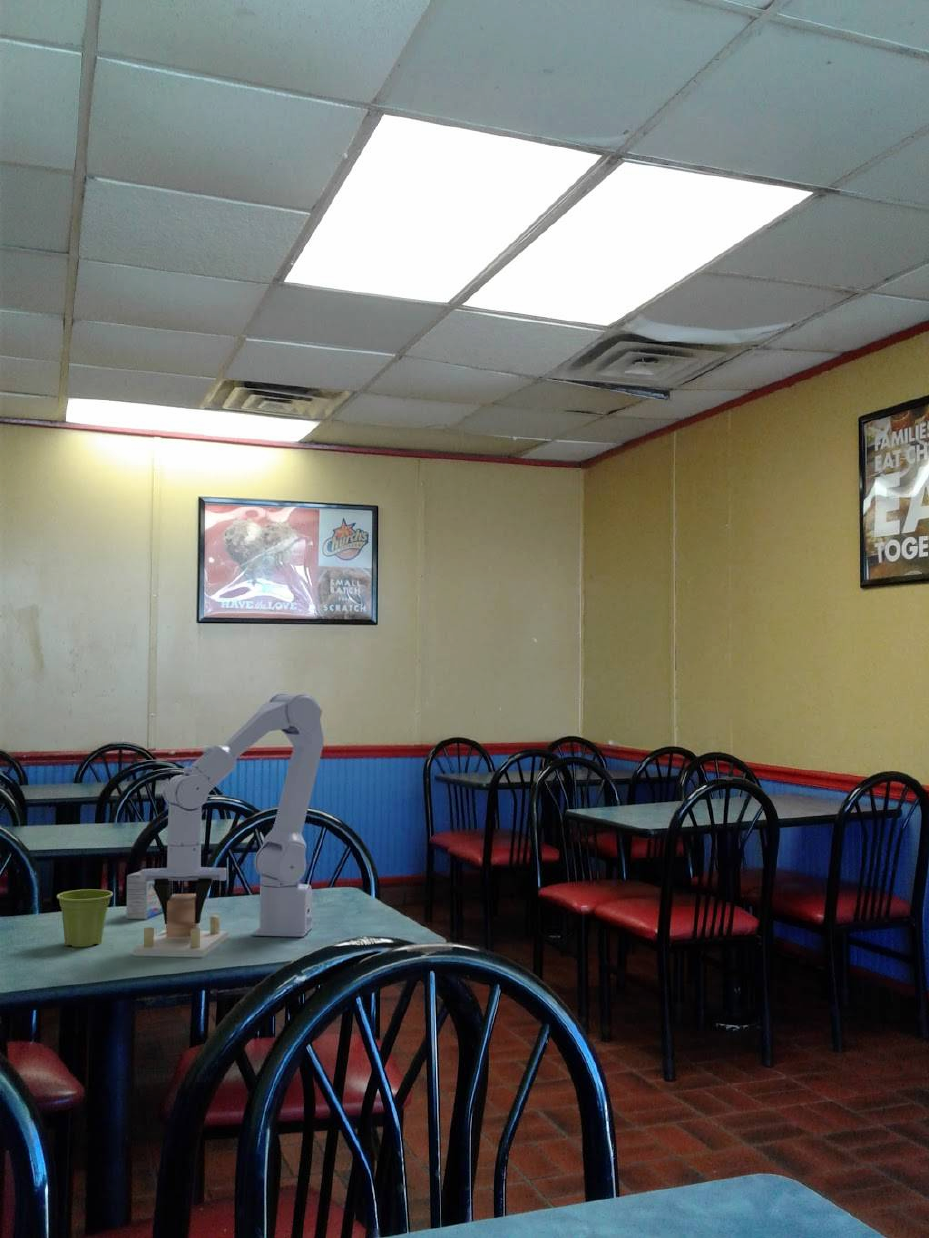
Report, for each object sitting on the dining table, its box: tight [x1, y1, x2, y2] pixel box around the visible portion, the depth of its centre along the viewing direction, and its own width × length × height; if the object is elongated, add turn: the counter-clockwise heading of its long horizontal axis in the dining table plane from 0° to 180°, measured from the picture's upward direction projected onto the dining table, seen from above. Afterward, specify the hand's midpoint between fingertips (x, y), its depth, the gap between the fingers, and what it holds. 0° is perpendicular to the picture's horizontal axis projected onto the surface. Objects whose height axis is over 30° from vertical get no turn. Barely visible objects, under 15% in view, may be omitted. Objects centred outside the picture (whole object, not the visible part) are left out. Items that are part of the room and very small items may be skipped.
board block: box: [167, 893, 199, 937], centre depth 188 cm, size 4×7×6 cm, turn 7°
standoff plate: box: [133, 914, 229, 958], centre depth 187 cm, size 12×14×4 cm
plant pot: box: [56, 888, 114, 948], centre depth 190 cm, size 9×9×9 cm
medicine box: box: [126, 867, 163, 921], centre depth 213 cm, size 8×4×9 cm, turn 168°
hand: (182, 922), depth 188 cm, fingers closed on board block, 4 cm apart
